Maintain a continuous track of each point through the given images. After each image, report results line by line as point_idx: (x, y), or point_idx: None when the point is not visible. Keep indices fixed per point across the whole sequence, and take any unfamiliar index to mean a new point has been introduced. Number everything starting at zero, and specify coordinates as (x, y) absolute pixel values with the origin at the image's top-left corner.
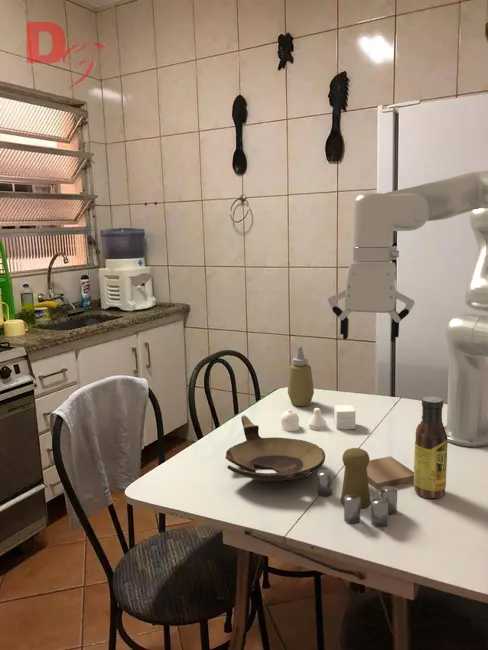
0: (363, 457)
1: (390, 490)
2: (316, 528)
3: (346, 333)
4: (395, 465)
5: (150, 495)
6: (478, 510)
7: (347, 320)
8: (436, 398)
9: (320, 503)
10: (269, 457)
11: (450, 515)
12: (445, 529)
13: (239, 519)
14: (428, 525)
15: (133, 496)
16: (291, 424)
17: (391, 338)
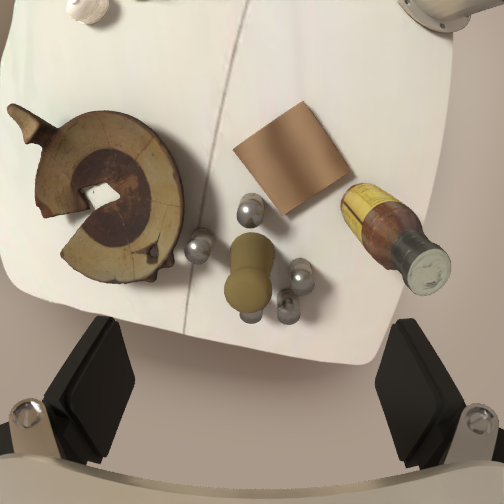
0: (262, 308)
1: (304, 286)
2: (212, 318)
3: (126, 402)
4: (313, 140)
5: (26, 283)
6: None
7: (95, 445)
8: (441, 265)
9: (203, 266)
10: (89, 158)
11: None
12: (364, 292)
13: (125, 314)
14: (347, 288)
15: (17, 287)
16: (90, 17)
17: (380, 393)
